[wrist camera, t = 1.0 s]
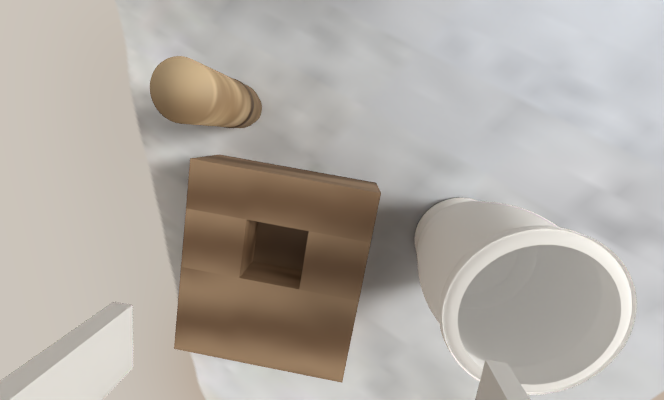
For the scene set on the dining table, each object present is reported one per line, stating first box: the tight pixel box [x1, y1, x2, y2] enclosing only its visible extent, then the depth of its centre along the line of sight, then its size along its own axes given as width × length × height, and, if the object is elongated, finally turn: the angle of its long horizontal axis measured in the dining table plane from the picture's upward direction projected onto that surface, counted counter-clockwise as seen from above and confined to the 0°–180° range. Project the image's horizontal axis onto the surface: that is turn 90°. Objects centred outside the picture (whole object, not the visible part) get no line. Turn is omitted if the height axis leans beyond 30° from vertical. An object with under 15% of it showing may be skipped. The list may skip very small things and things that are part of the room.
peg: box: [150, 56, 262, 128], centre depth 26 cm, size 4×4×12 cm
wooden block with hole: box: [174, 155, 381, 382], centre depth 32 cm, size 18×16×6 cm
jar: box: [414, 198, 637, 395], centre depth 26 cm, size 11×10×15 cm
